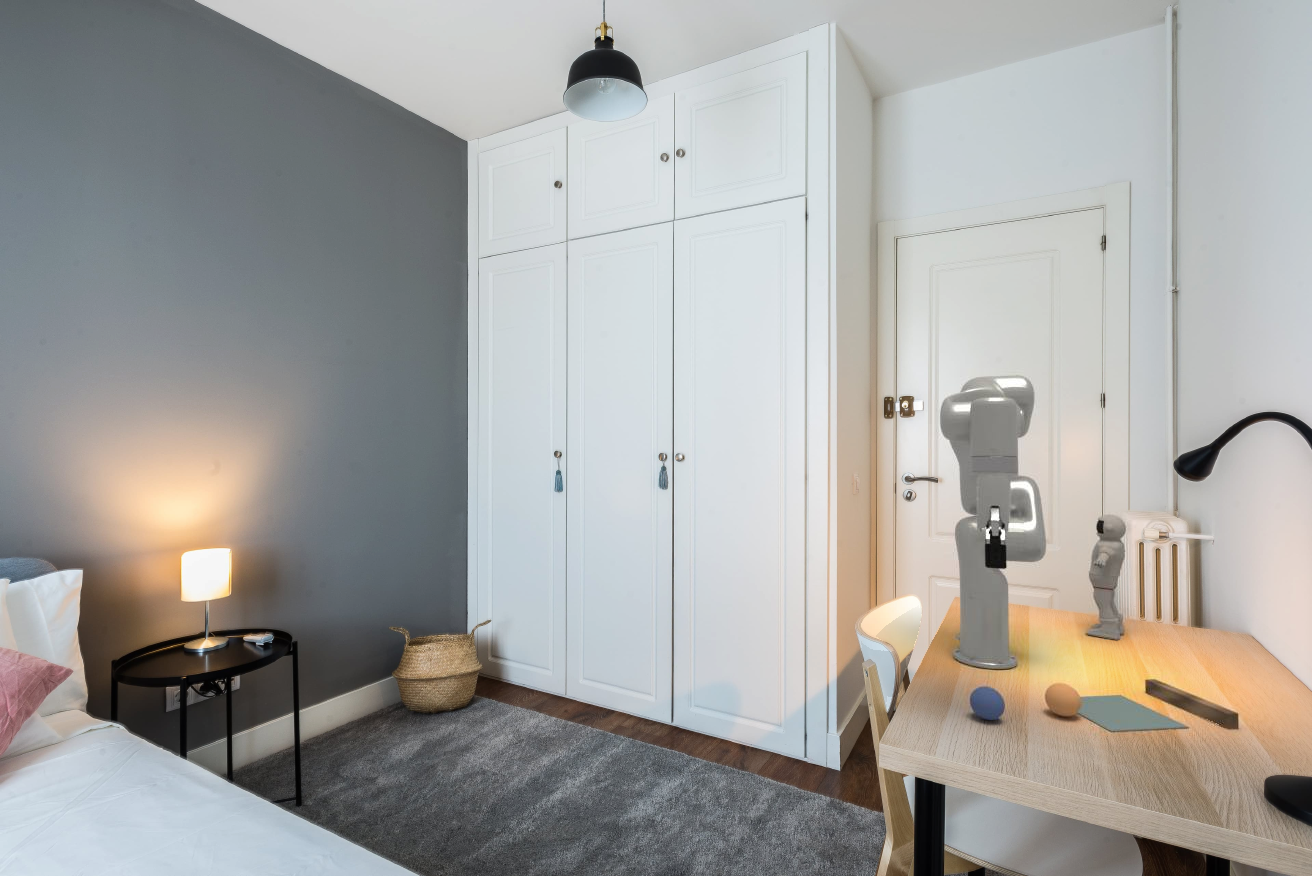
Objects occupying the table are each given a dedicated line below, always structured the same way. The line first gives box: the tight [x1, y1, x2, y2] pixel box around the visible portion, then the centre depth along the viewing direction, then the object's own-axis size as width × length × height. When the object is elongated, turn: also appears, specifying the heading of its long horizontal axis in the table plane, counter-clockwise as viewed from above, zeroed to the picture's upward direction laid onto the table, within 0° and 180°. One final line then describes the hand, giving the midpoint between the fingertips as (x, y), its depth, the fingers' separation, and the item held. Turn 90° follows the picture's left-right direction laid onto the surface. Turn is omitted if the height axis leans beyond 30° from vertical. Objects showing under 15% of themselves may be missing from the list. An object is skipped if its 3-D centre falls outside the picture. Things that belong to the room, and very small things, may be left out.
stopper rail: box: [1144, 678, 1240, 730], centre depth 115 cm, size 16×2×2 cm, turn 6°
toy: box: [1085, 514, 1127, 641], centre depth 161 cm, size 29×8×30 cm, turn 136°
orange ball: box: [1044, 682, 1081, 718], centre depth 113 cm, size 5×5×5 cm
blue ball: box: [969, 685, 1006, 721], centre depth 111 cm, size 5×5×5 cm
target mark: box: [1076, 694, 1190, 733], centre depth 114 cm, size 14×14×1 cm
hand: (995, 564), depth 113 cm, fingers open, 9 cm apart
